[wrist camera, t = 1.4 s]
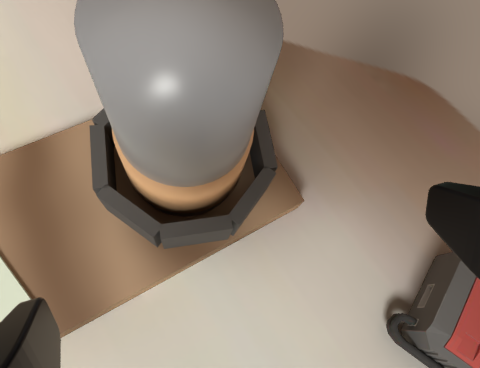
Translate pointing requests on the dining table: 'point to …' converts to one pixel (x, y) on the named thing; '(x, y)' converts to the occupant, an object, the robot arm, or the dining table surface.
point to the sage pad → (10, 290)
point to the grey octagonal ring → (183, 230)
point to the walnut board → (99, 228)
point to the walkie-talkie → (443, 317)
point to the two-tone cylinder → (181, 90)
